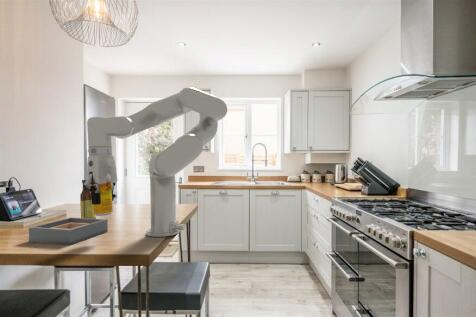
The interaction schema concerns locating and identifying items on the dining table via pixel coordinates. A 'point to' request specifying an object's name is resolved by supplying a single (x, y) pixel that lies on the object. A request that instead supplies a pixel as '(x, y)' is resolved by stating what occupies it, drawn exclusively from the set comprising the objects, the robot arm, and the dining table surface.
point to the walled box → (68, 230)
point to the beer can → (104, 198)
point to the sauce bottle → (86, 203)
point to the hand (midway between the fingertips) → (103, 202)
